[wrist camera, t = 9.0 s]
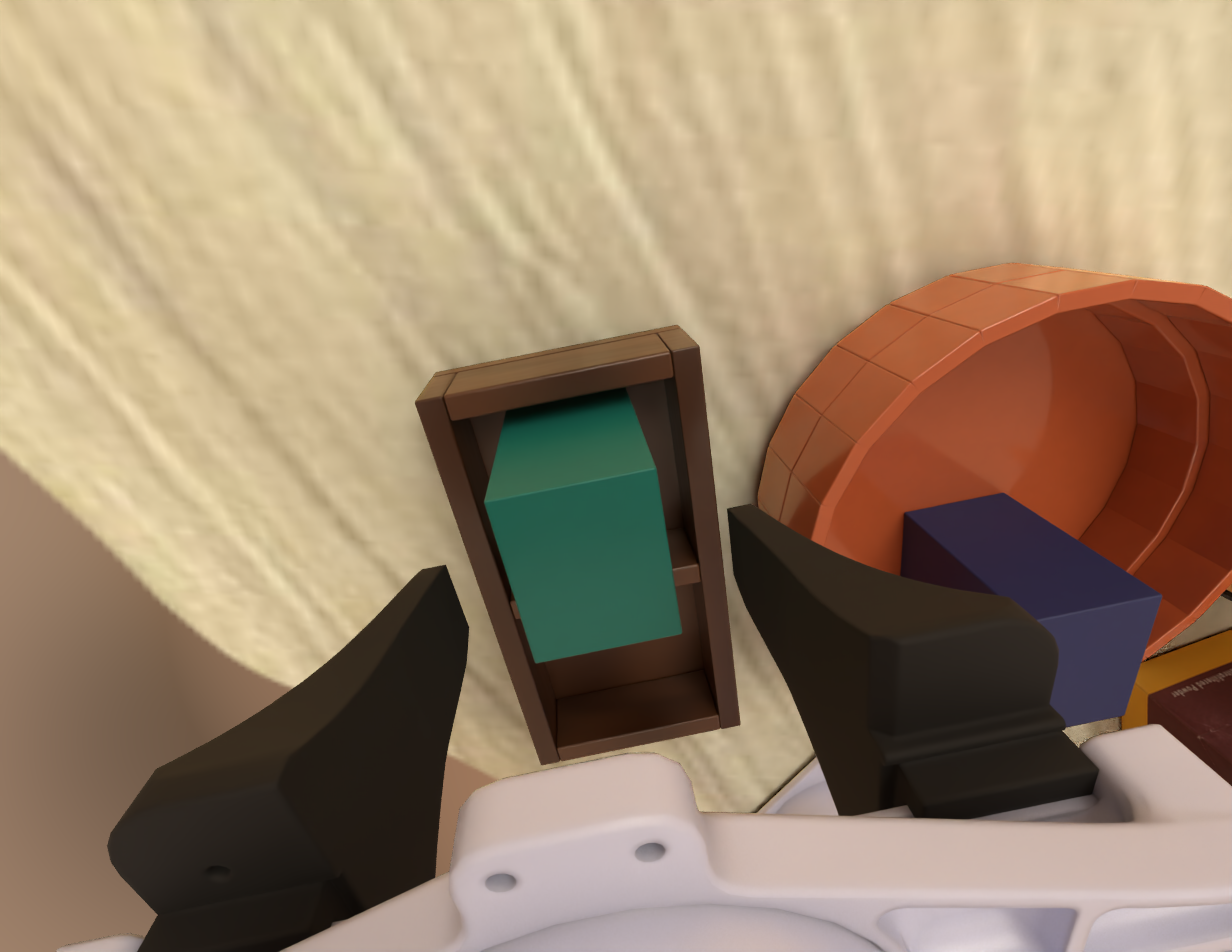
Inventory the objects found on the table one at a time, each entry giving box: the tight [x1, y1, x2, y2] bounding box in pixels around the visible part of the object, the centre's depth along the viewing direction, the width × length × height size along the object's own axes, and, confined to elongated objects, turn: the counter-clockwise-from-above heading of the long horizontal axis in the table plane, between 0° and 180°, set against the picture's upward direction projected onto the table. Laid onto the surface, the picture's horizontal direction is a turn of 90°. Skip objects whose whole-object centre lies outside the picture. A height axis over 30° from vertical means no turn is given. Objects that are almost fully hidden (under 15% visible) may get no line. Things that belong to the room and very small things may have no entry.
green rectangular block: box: [484, 387, 682, 663], centre depth 17 cm, size 4×5×6 cm
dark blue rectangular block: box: [900, 493, 1162, 727], centre depth 20 cm, size 4×5×6 cm
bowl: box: [757, 263, 1232, 661], centre depth 20 cm, size 15×15×5 cm
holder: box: [415, 325, 740, 765], centre depth 21 cm, size 8×15×3 cm, turn 10°
